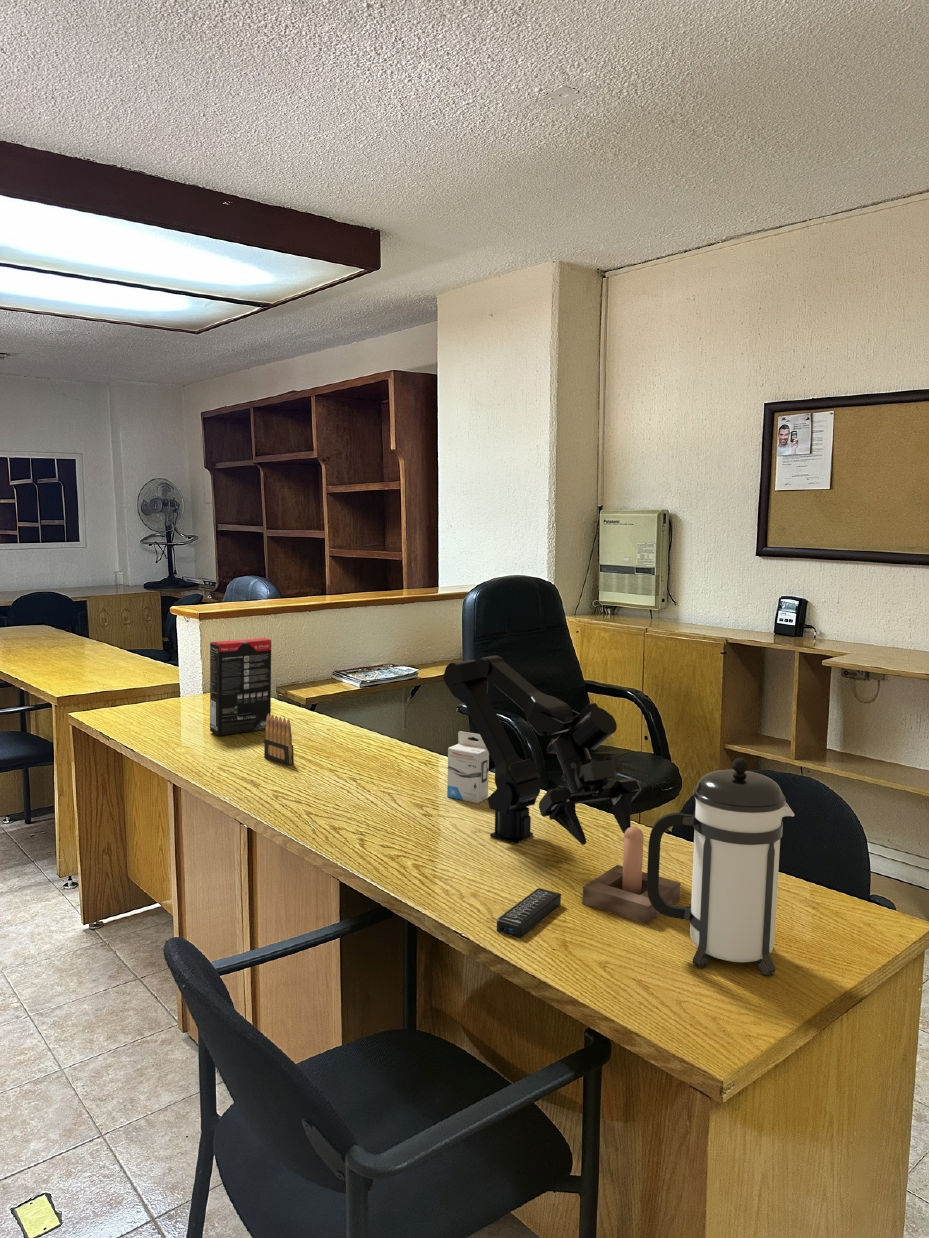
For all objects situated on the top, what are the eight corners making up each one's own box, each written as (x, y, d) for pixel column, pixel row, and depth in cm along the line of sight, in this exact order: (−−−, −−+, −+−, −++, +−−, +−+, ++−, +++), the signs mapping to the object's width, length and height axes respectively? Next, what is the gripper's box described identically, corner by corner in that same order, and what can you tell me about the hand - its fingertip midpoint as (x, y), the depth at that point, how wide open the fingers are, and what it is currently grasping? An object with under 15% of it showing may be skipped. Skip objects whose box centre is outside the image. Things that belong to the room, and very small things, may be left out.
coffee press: (725, 920, 143) (735, 739, 140) (806, 965, 129) (818, 764, 126) (641, 944, 135) (648, 751, 131) (717, 994, 121) (727, 780, 118)
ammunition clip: (264, 757, 235) (263, 713, 233) (269, 756, 236) (269, 712, 235) (288, 766, 227) (287, 720, 226) (294, 764, 229) (293, 718, 227)
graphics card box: (262, 724, 271) (261, 636, 268) (273, 729, 266) (272, 638, 262) (209, 733, 260) (207, 640, 257) (219, 737, 255) (217, 643, 251)
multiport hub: (561, 906, 149) (561, 893, 148) (520, 940, 136) (520, 926, 136) (538, 900, 151) (538, 887, 151) (495, 933, 139) (495, 919, 138)
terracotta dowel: (618, 902, 150) (620, 827, 148) (627, 895, 152) (629, 822, 151) (635, 907, 148) (638, 831, 146) (644, 900, 150) (647, 826, 149)
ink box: (446, 797, 204) (446, 734, 202) (456, 791, 208) (457, 730, 206) (478, 803, 200) (479, 739, 198) (489, 797, 204) (490, 735, 202)
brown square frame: (582, 903, 149) (582, 886, 149) (616, 880, 158) (617, 864, 158) (648, 924, 142) (648, 906, 141) (679, 899, 151) (680, 882, 151)
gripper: (548, 744, 155) (579, 826, 146) (637, 735, 163) (672, 812, 154) (526, 776, 163) (554, 855, 155) (612, 765, 171) (643, 840, 162)
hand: (607, 840), depth 156 cm, fingers open, 9 cm apart
